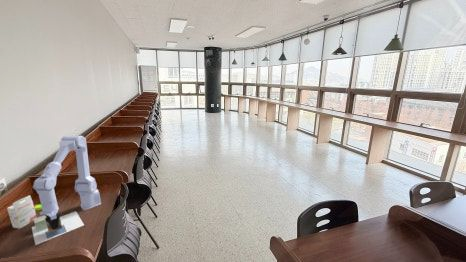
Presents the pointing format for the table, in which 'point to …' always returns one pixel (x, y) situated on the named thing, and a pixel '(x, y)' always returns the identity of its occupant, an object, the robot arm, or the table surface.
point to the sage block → (40, 223)
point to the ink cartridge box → (22, 212)
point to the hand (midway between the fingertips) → (54, 226)
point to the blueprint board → (67, 223)
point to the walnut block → (54, 229)
